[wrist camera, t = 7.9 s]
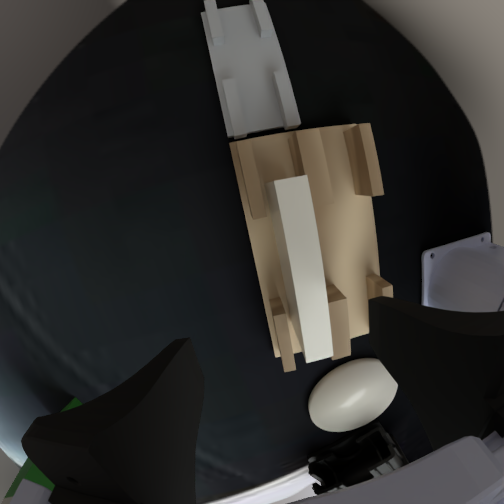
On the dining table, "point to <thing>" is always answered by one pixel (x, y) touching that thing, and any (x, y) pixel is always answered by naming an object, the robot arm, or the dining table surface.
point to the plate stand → (249, 69)
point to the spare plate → (351, 395)
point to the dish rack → (327, 220)
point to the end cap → (355, 459)
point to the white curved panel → (301, 264)
